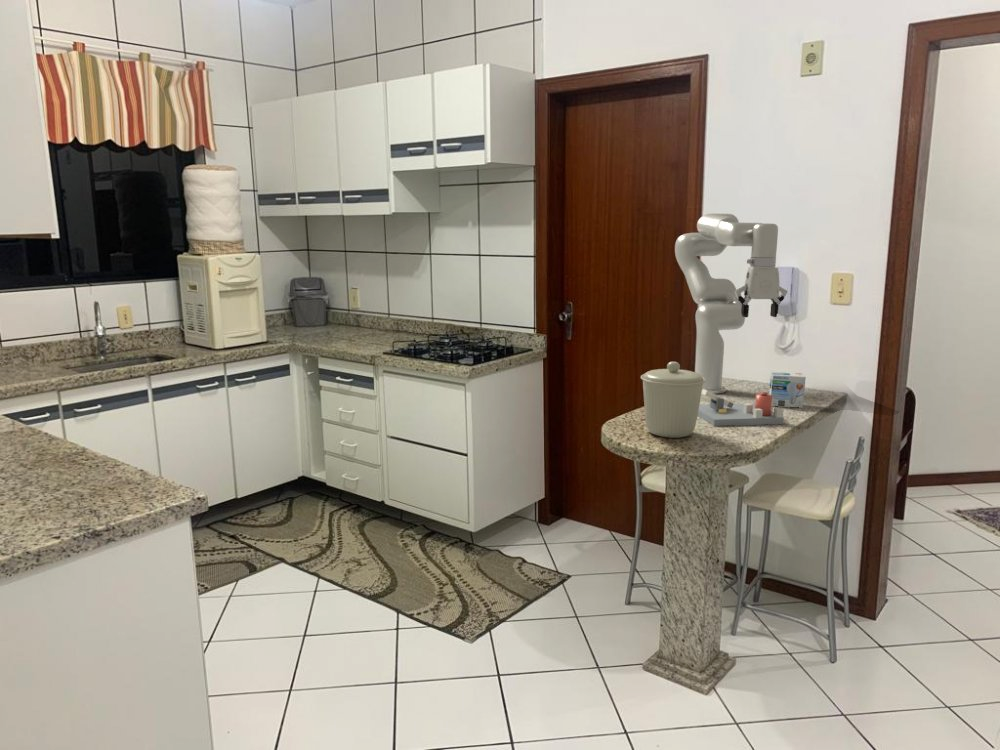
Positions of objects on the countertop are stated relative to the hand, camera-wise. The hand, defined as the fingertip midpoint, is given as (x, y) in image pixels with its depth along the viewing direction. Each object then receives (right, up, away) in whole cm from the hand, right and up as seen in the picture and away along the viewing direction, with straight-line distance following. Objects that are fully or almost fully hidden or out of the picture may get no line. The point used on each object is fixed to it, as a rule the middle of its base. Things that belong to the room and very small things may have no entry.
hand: (759, 316), depth 247 cm
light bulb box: (+12, -29, +10) cm, 33 cm away
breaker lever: (-15, -26, -5) cm, 31 cm away
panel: (-10, -32, -6) cm, 34 cm away
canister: (-34, -36, -25) cm, 56 cm away
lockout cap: (-3, -31, -11) cm, 33 cm away
